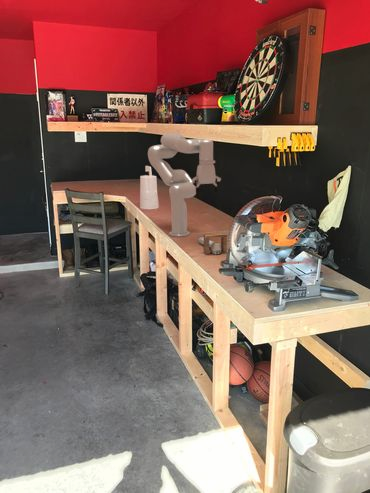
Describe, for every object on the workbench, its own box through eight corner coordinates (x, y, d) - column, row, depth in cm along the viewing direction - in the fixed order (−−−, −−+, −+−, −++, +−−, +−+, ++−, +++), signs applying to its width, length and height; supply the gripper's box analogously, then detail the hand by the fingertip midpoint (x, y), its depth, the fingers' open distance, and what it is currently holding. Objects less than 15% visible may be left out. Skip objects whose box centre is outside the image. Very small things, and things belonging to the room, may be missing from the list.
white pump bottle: (136, 207, 350) (134, 166, 340) (152, 204, 358) (150, 164, 349) (146, 210, 338) (144, 167, 328) (162, 207, 346) (161, 166, 337)
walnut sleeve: (203, 252, 228) (203, 234, 225) (224, 250, 231) (224, 232, 228) (205, 254, 224) (205, 236, 221) (226, 252, 227) (227, 234, 224)
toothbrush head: (205, 235, 247) (222, 241, 223) (205, 247, 248) (223, 253, 224) (196, 236, 245) (213, 242, 221) (197, 248, 246) (213, 254, 223)
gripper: (218, 161, 240) (218, 191, 245) (189, 162, 236) (189, 193, 240) (223, 162, 233) (222, 194, 238) (193, 164, 229) (193, 195, 234)
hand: (206, 193), depth 239 cm, fingers open, 9 cm apart
